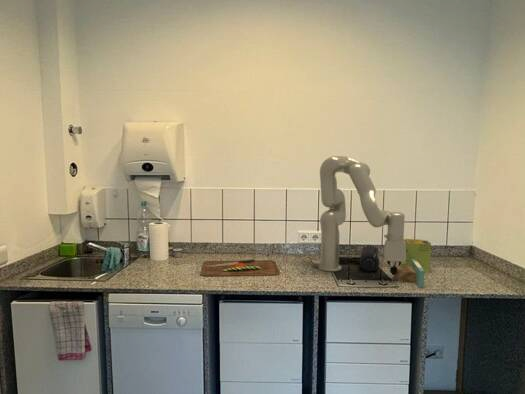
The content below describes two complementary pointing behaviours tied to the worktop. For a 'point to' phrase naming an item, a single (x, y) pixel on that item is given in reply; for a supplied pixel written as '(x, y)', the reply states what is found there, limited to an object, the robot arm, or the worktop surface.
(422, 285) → the teal board
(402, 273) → the brown rectangular box
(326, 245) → the robot arm
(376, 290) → the worktop surface
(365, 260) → the portable speaker
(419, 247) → the protein box
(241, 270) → the chopping board
